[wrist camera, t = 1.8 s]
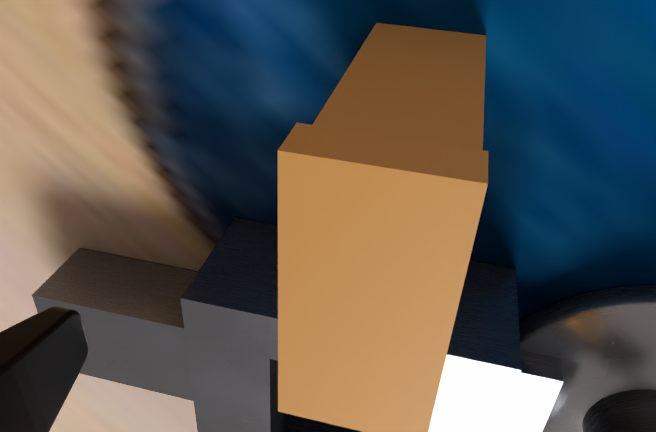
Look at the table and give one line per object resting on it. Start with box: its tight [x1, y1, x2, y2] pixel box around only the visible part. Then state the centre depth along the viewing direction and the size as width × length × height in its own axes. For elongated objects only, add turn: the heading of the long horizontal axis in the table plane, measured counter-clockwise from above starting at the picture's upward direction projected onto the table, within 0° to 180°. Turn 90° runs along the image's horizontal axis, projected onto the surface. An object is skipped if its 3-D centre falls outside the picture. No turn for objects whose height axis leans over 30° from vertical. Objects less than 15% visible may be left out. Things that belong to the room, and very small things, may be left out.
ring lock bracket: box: [32, 218, 656, 432], centre depth 20 cm, size 28×11×6 cm, turn 87°
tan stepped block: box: [278, 23, 488, 432], centre depth 13 cm, size 3×6×9 cm, turn 177°
